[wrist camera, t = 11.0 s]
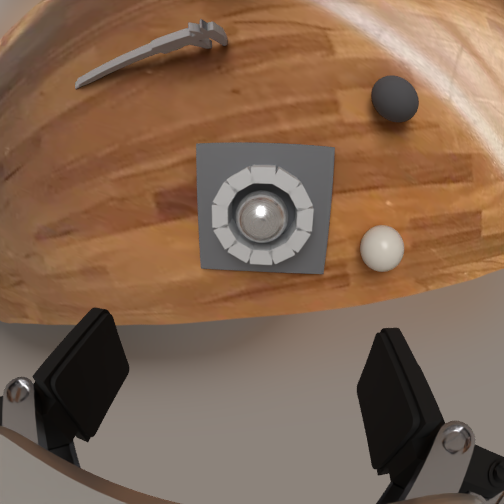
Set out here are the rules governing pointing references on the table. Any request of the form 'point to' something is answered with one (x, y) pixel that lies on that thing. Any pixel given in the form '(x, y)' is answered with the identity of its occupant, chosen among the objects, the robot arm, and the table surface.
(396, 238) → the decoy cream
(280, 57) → the table surface
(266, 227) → the steel ball
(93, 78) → the caliper
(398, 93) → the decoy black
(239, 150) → the housing
